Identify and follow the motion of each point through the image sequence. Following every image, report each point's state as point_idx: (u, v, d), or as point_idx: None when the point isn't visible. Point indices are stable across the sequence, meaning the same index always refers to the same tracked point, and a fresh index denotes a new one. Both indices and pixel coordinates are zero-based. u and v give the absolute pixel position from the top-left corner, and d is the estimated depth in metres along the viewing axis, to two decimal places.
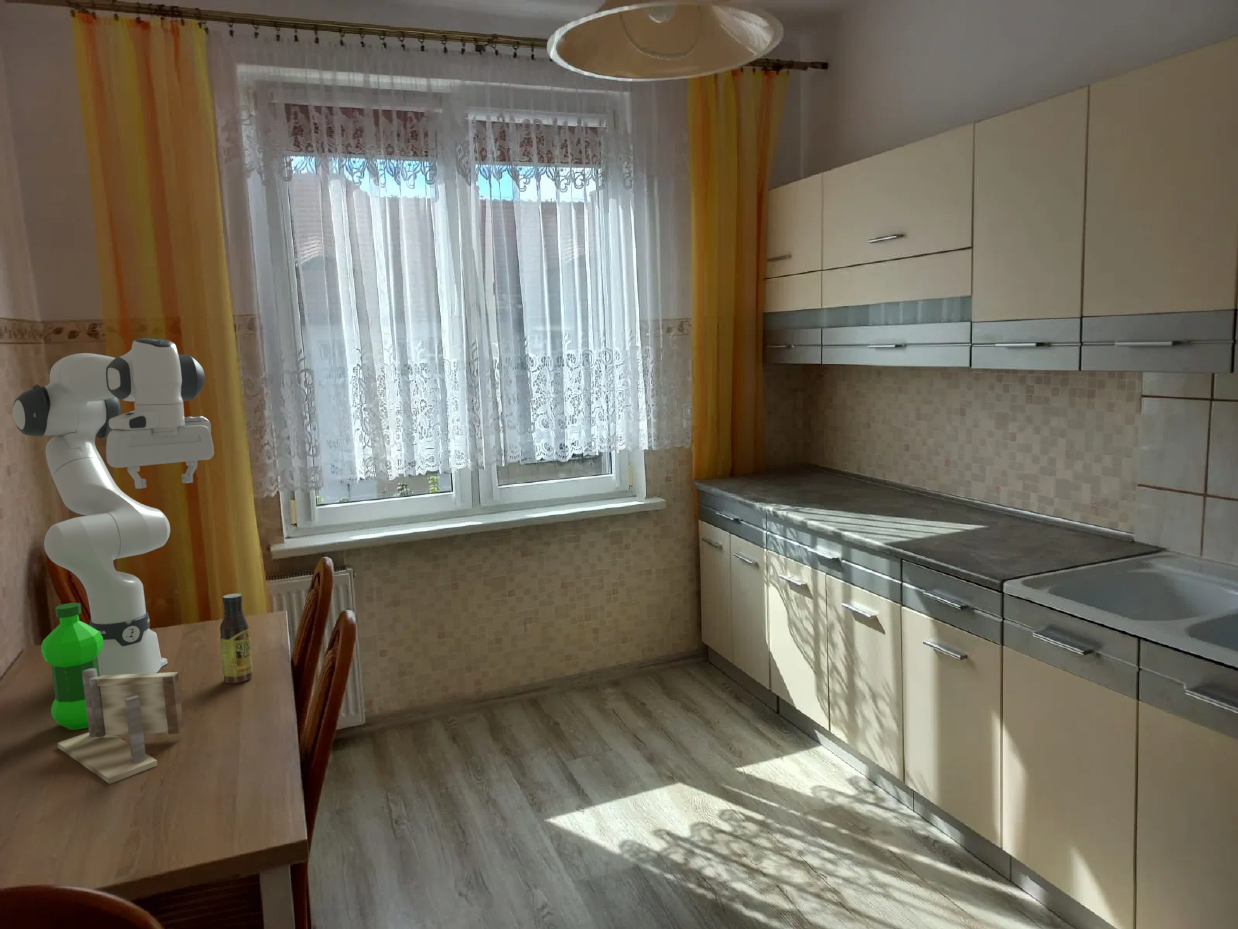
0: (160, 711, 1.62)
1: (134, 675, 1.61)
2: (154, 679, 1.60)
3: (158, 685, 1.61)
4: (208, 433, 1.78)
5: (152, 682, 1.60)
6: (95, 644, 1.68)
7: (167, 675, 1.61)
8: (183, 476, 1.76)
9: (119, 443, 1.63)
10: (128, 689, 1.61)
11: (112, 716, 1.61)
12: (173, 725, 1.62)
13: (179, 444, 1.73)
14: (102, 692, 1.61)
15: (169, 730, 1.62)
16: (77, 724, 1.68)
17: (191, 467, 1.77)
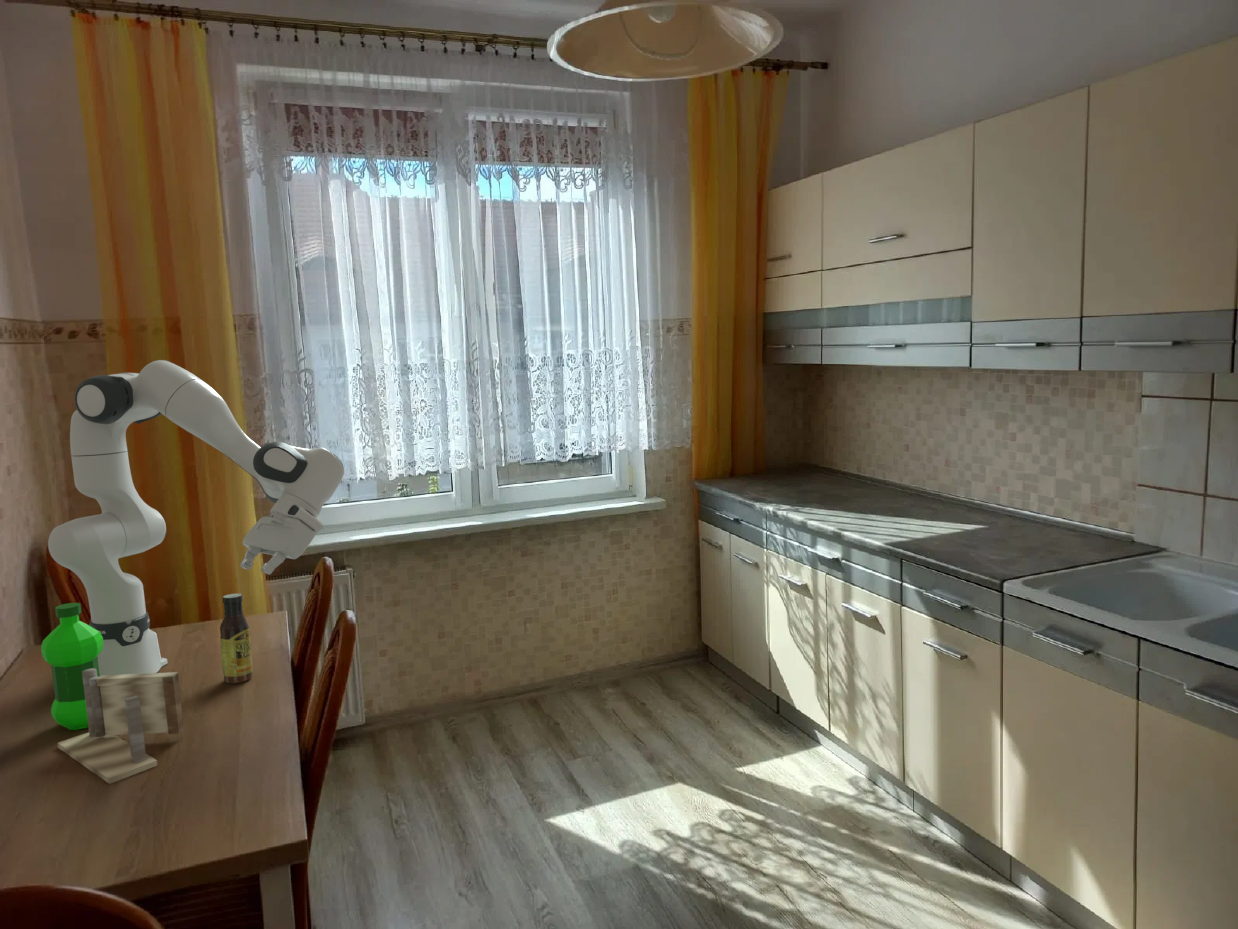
0: (160, 711, 1.62)
1: (134, 675, 1.61)
2: (154, 679, 1.60)
3: (158, 685, 1.61)
4: None
5: (152, 682, 1.60)
6: (95, 644, 1.69)
7: (167, 675, 1.61)
8: (249, 562, 1.78)
9: None
10: (128, 689, 1.61)
11: (112, 716, 1.61)
12: (173, 725, 1.62)
13: None
14: (102, 692, 1.61)
15: (169, 730, 1.62)
16: (77, 724, 1.68)
17: (251, 555, 1.80)
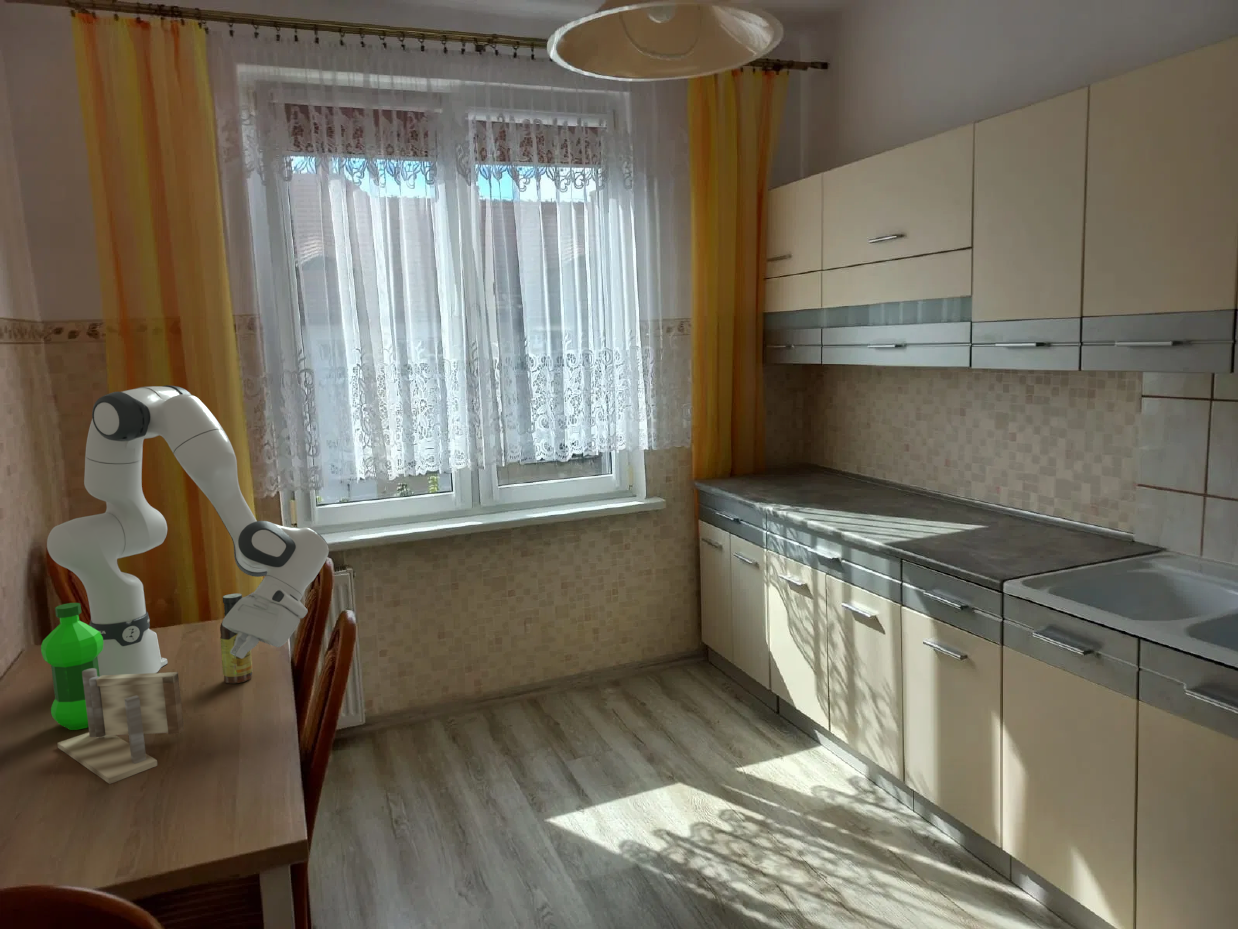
0: (160, 711, 1.62)
1: (134, 675, 1.61)
2: (154, 679, 1.60)
3: (158, 685, 1.61)
4: None
5: (152, 682, 1.60)
6: (95, 644, 1.68)
7: (167, 675, 1.61)
8: None
9: None
10: (128, 689, 1.61)
11: (112, 716, 1.61)
12: (173, 725, 1.62)
13: None
14: (102, 692, 1.61)
15: (169, 730, 1.62)
16: (77, 724, 1.68)
17: (241, 641, 1.76)
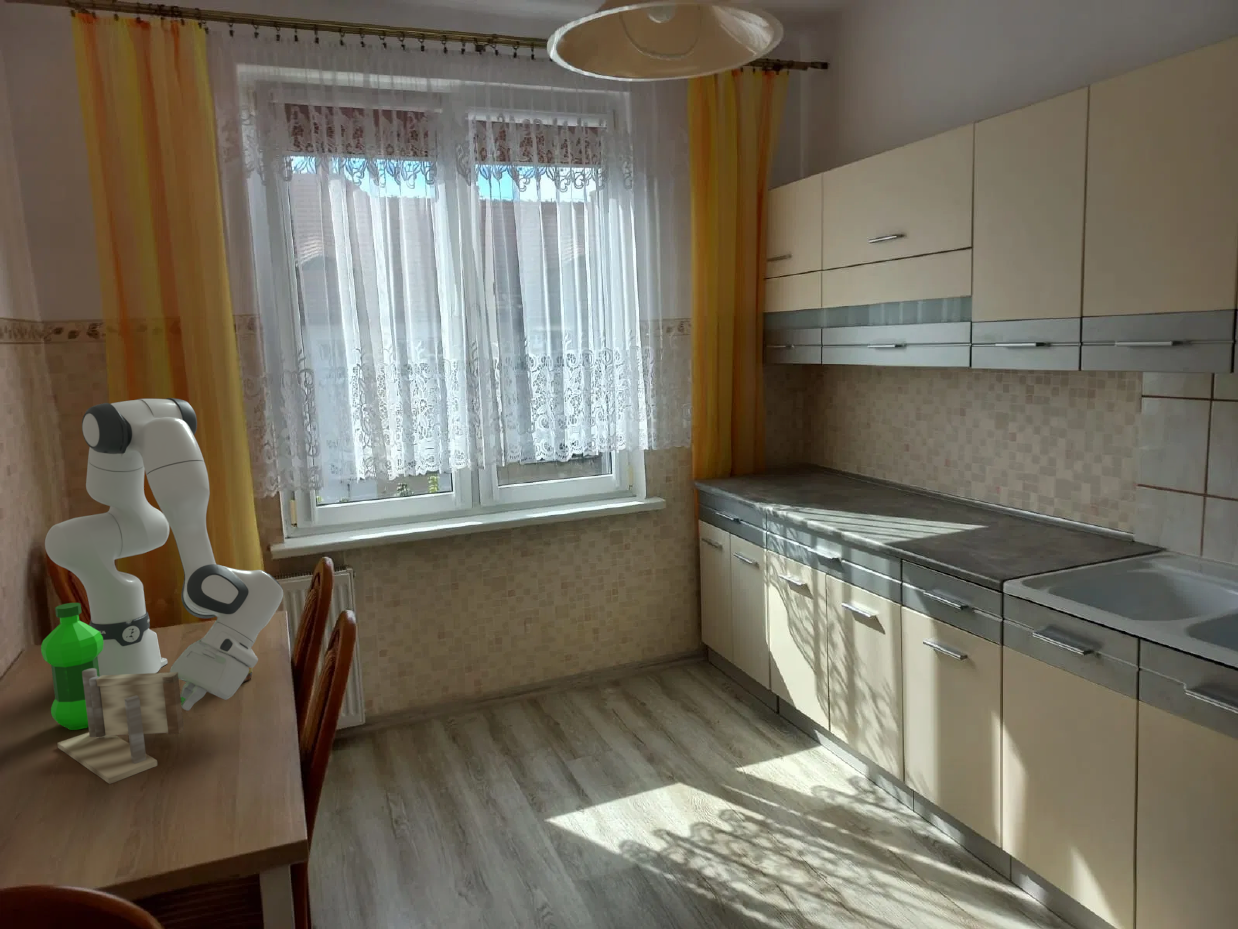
0: (160, 711, 1.62)
1: (134, 675, 1.61)
2: (154, 679, 1.60)
3: (158, 685, 1.61)
4: None
5: (152, 682, 1.60)
6: (95, 644, 1.69)
7: (167, 675, 1.61)
8: None
9: None
10: (128, 689, 1.61)
11: (112, 716, 1.61)
12: (173, 725, 1.62)
13: None
14: (102, 692, 1.61)
15: (169, 730, 1.62)
16: (77, 724, 1.68)
17: (188, 691, 1.67)
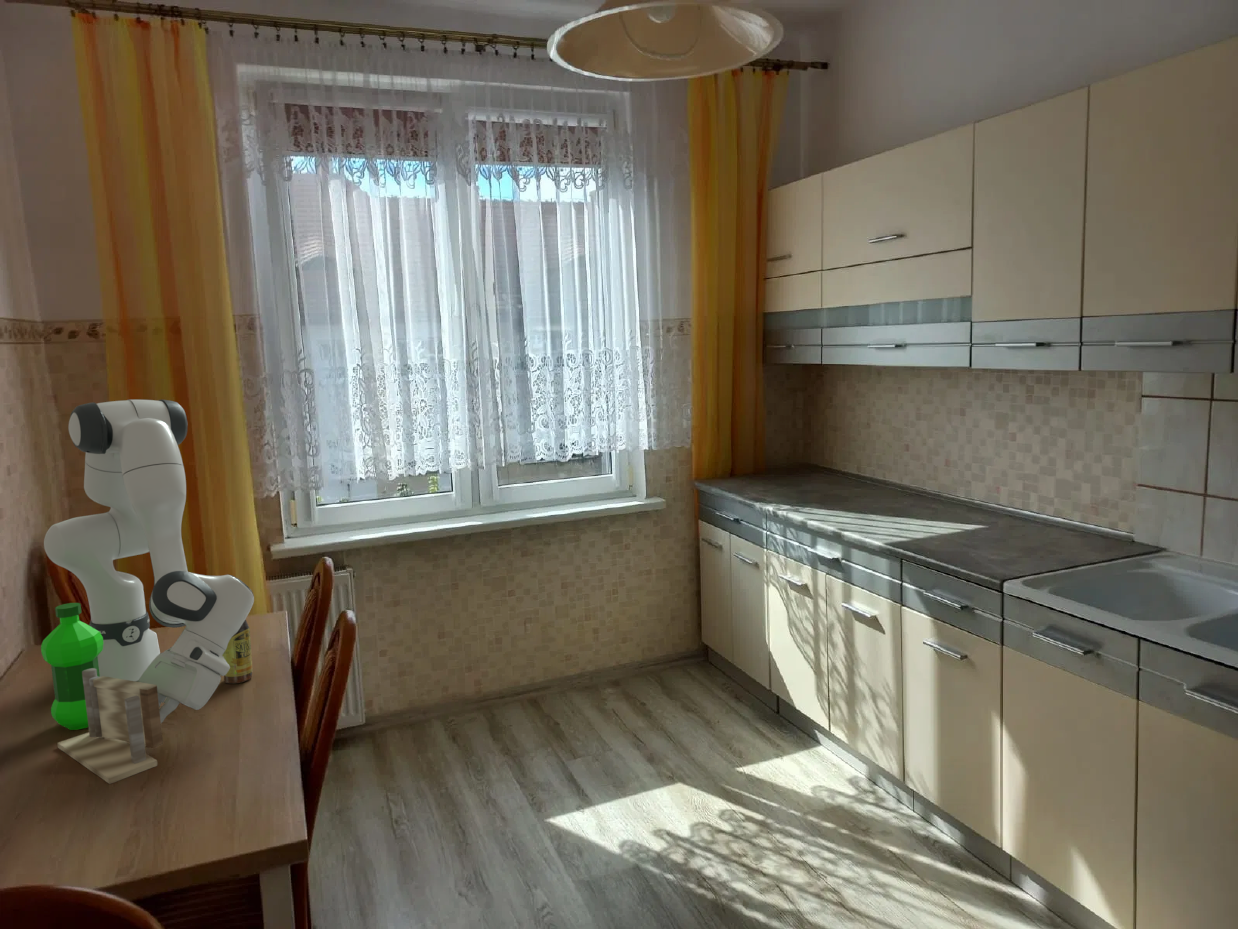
0: None
1: (123, 681, 1.58)
2: (133, 689, 1.56)
3: None
4: None
5: (132, 692, 1.56)
6: (95, 644, 1.68)
7: (144, 687, 1.55)
8: None
9: None
10: (116, 695, 1.58)
11: (106, 719, 1.60)
12: (149, 739, 1.56)
13: None
14: (98, 693, 1.60)
15: (146, 743, 1.56)
16: (77, 724, 1.68)
17: None
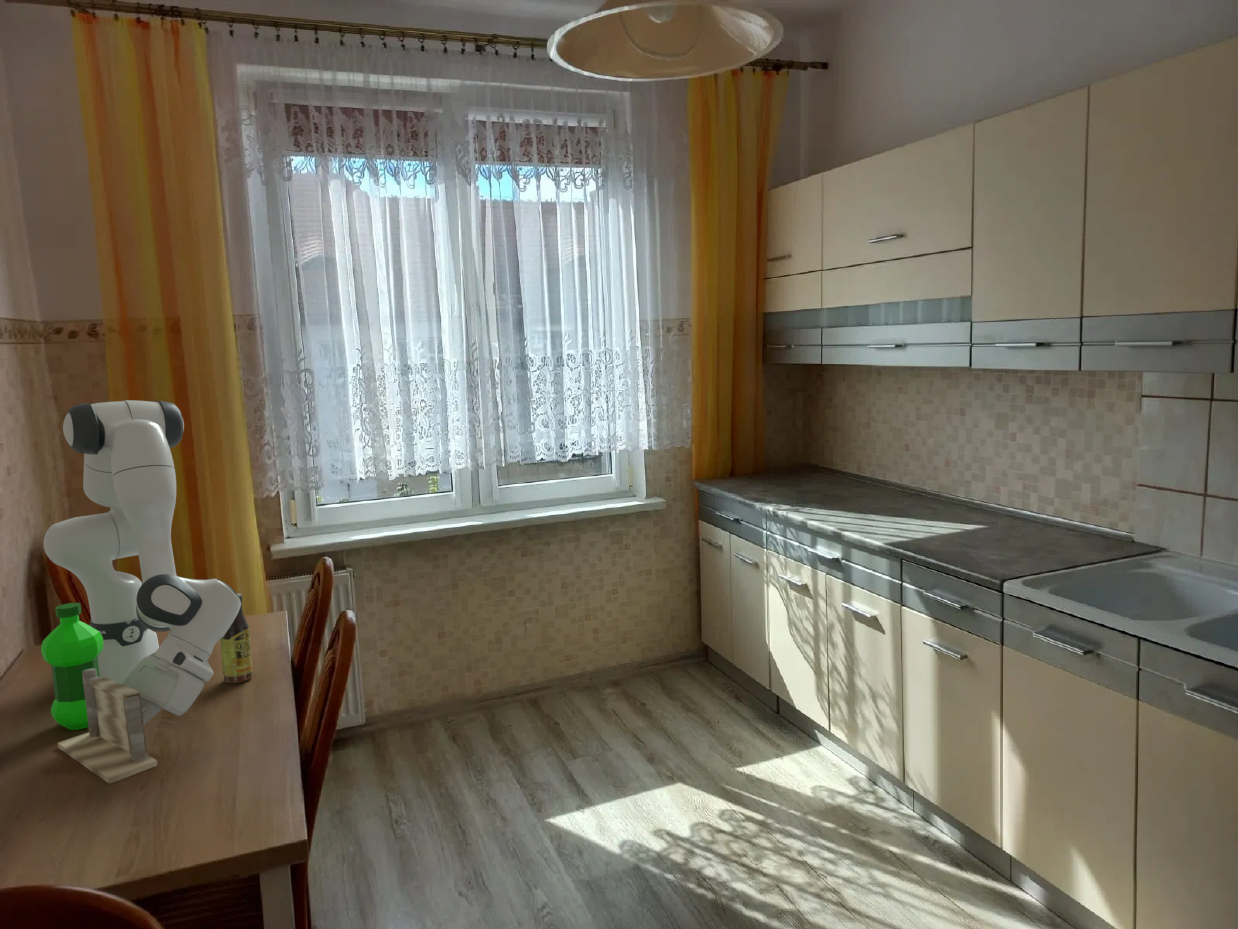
0: (125, 728, 1.54)
1: (114, 684, 1.57)
2: (119, 694, 1.54)
3: (122, 701, 1.54)
4: None
5: (118, 696, 1.54)
6: (95, 644, 1.69)
7: (127, 693, 1.53)
8: None
9: None
10: (108, 697, 1.57)
11: (102, 720, 1.60)
12: None
13: None
14: (95, 694, 1.60)
15: None
16: (77, 724, 1.68)
17: None
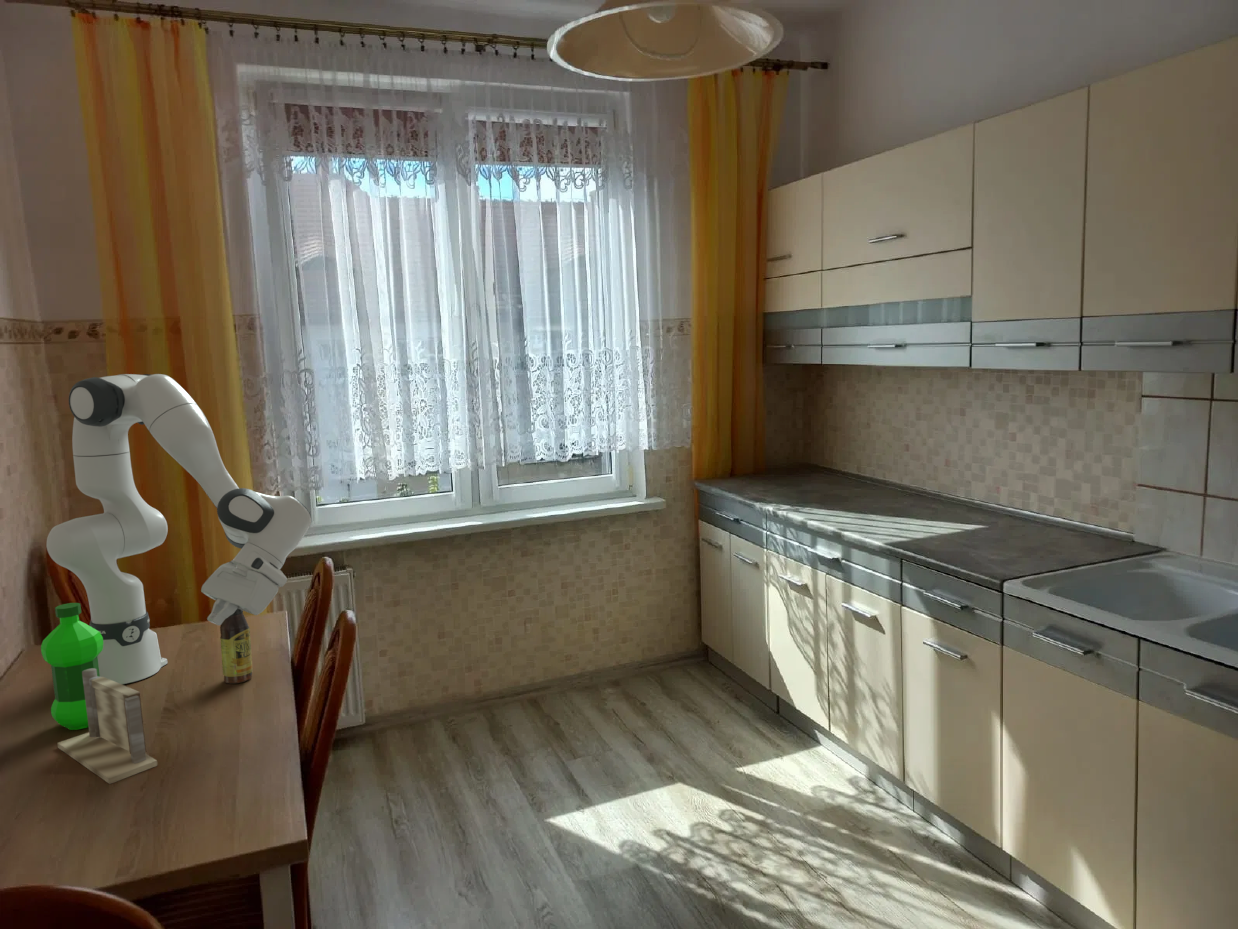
0: (125, 728, 1.54)
1: (114, 684, 1.57)
2: (119, 694, 1.54)
3: (122, 701, 1.54)
4: None
5: (118, 696, 1.54)
6: (95, 644, 1.68)
7: (127, 693, 1.53)
8: None
9: None
10: (108, 697, 1.57)
11: (102, 720, 1.60)
12: None
13: None
14: (95, 694, 1.60)
15: None
16: (77, 724, 1.68)
17: (219, 607, 1.73)
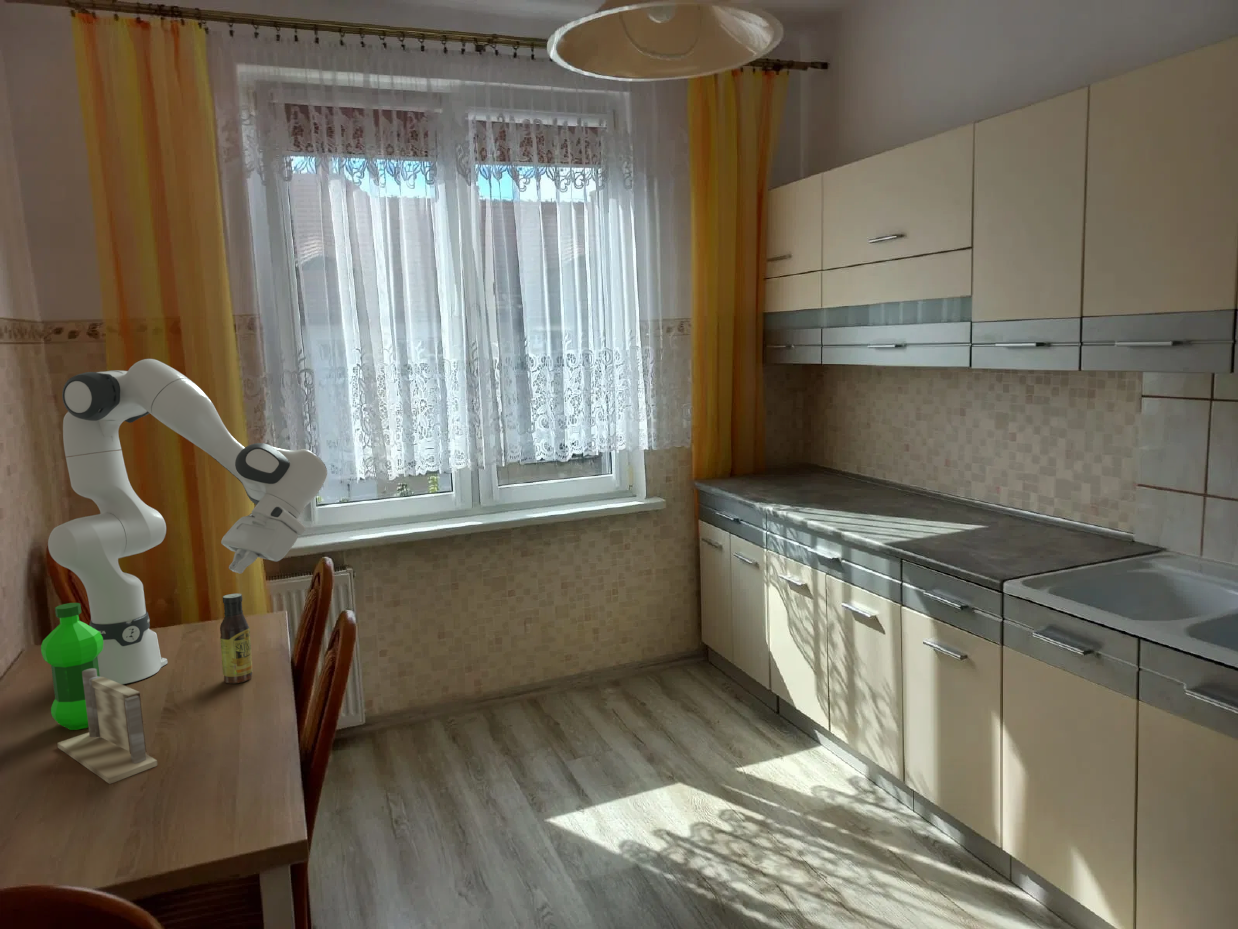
0: (125, 728, 1.54)
1: (114, 684, 1.57)
2: (119, 694, 1.54)
3: (122, 701, 1.54)
4: None
5: (118, 696, 1.54)
6: (95, 644, 1.68)
7: (127, 693, 1.53)
8: None
9: None
10: (108, 697, 1.57)
11: (102, 720, 1.60)
12: None
13: None
14: (95, 694, 1.60)
15: None
16: (77, 724, 1.68)
17: (240, 557, 1.77)
